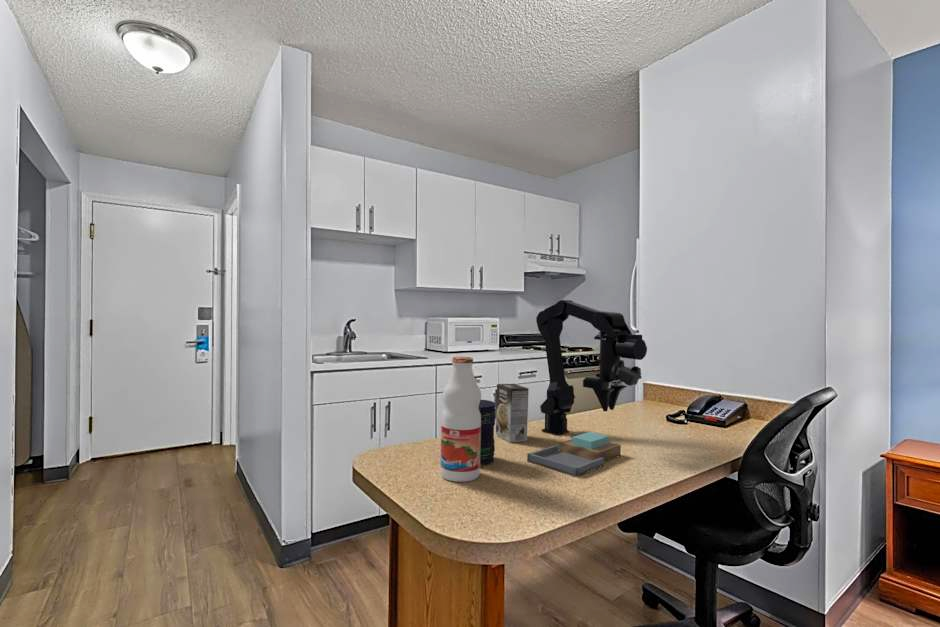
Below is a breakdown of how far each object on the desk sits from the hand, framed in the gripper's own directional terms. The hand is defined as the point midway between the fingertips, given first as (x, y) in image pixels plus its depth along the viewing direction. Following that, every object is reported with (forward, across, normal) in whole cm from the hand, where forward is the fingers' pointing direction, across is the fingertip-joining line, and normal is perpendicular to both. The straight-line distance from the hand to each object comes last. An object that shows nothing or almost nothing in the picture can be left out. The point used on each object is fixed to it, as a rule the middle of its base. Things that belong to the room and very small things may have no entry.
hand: (608, 410), depth 139 cm
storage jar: (+11, -36, +17) cm, 42 cm away
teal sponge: (+8, -9, 0) cm, 12 cm away
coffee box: (+11, -14, +25) cm, 31 cm away
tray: (+11, -21, 0) cm, 24 cm away
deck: (+11, -9, 0) cm, 14 cm away
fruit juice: (+11, -48, +11) cm, 50 cm away
